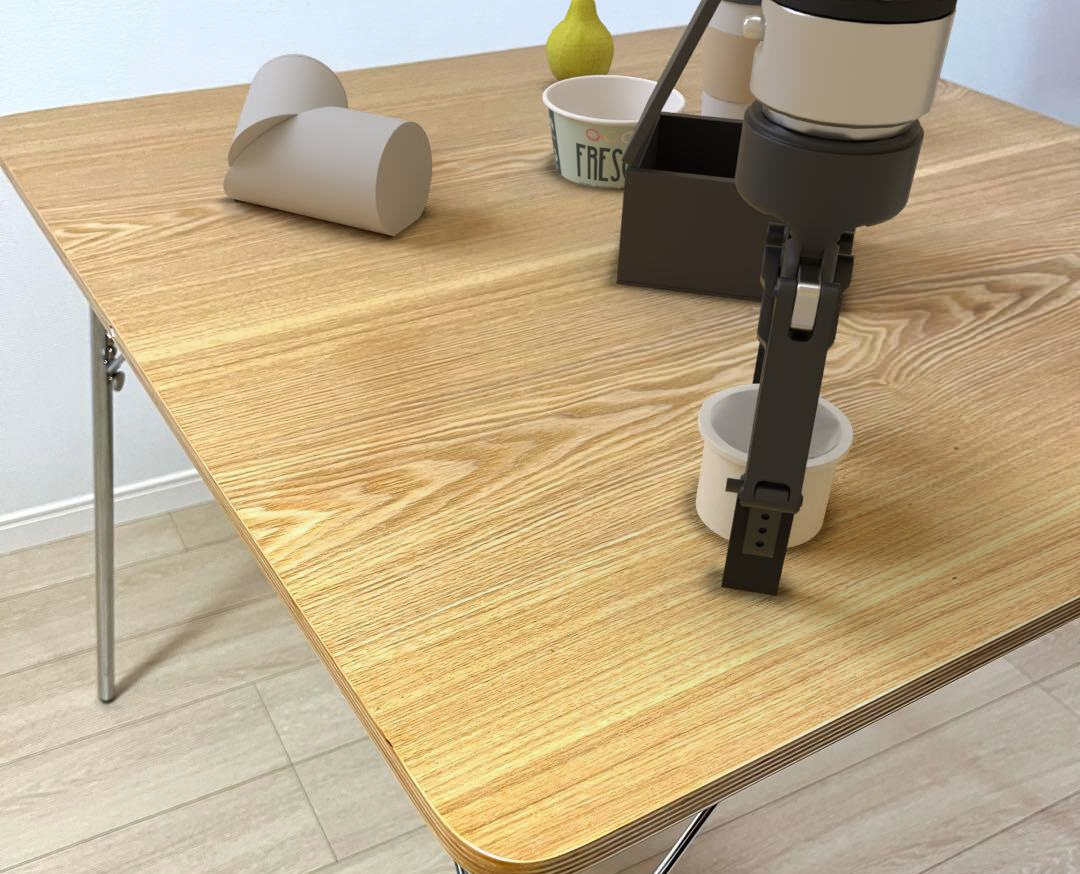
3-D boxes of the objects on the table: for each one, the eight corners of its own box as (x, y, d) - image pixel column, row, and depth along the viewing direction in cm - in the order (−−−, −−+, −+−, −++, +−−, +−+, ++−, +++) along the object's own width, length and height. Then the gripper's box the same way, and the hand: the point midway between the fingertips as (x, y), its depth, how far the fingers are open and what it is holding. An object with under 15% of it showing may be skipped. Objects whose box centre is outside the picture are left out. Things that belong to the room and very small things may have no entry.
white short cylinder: (832, 486, 64) (854, 394, 60) (829, 574, 58) (853, 478, 54) (693, 465, 65) (706, 374, 61) (677, 550, 59) (690, 454, 55)
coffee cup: (762, 160, 102) (790, -21, 93) (672, 138, 106) (690, -38, 97) (799, 131, 108) (829, -41, 99) (713, 112, 112) (734, -57, 103)
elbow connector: (143, 195, 89) (362, 248, 83) (137, 49, 84) (370, 94, 78) (277, 171, 104) (473, 214, 97) (279, 46, 99) (485, 83, 93)
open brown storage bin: (838, 244, 89) (862, 131, 83) (836, 319, 79) (862, 197, 74) (641, 221, 91) (651, 110, 86) (615, 290, 82) (625, 170, 76)
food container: (660, 146, 104) (667, 73, 100) (693, 198, 95) (703, 119, 91) (530, 150, 103) (532, 75, 98) (552, 203, 93) (555, 123, 89)
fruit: (612, 100, 114) (620, -31, 106) (543, 97, 114) (548, -33, 106) (610, 78, 119) (619, -48, 112) (545, 76, 119) (549, -50, 112)
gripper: (764, 23, 58) (710, 387, 71) (718, 211, 39) (657, 657, 52) (916, 37, 56) (832, 405, 70) (944, 238, 38) (822, 686, 51)
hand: (757, 513), depth 61 cm, fingers open, 12 cm apart
